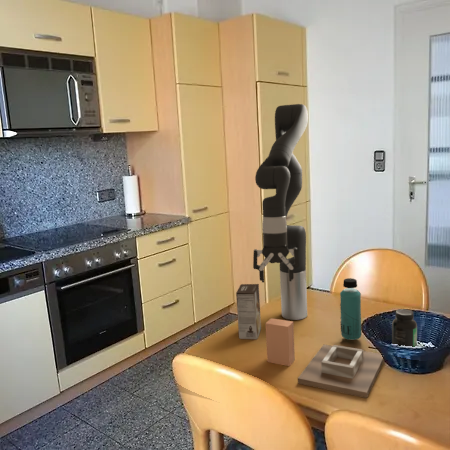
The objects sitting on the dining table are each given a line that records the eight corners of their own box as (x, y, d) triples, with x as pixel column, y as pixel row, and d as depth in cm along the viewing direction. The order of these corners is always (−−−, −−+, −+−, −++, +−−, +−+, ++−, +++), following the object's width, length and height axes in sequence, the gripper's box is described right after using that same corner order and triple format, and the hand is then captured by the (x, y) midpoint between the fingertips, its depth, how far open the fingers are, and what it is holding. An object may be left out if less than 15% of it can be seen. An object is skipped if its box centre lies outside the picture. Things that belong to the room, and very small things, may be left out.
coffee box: (243, 327, 164) (240, 283, 161) (261, 328, 163) (259, 283, 160) (238, 339, 155) (235, 292, 152) (258, 339, 154) (255, 292, 151)
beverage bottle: (363, 337, 151) (362, 276, 147) (360, 346, 145) (359, 283, 141) (342, 334, 153) (341, 275, 150) (338, 343, 147) (337, 281, 144)
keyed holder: (323, 348, 144) (323, 335, 143) (384, 359, 135) (384, 344, 135) (297, 383, 126) (297, 367, 125) (366, 398, 117) (366, 381, 116)
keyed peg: (272, 355, 142) (271, 318, 140) (294, 360, 139) (293, 321, 136) (267, 361, 139) (265, 323, 136) (289, 366, 135) (288, 326, 133)
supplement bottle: (421, 353, 137) (422, 314, 135) (399, 356, 136) (399, 317, 134) (408, 343, 144) (409, 306, 142) (387, 346, 143) (387, 309, 141)
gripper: (296, 228, 150) (298, 277, 153) (251, 229, 151) (253, 279, 153) (298, 231, 143) (300, 283, 145) (251, 233, 144) (253, 285, 146)
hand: (276, 281), depth 149 cm, fingers open, 8 cm apart
